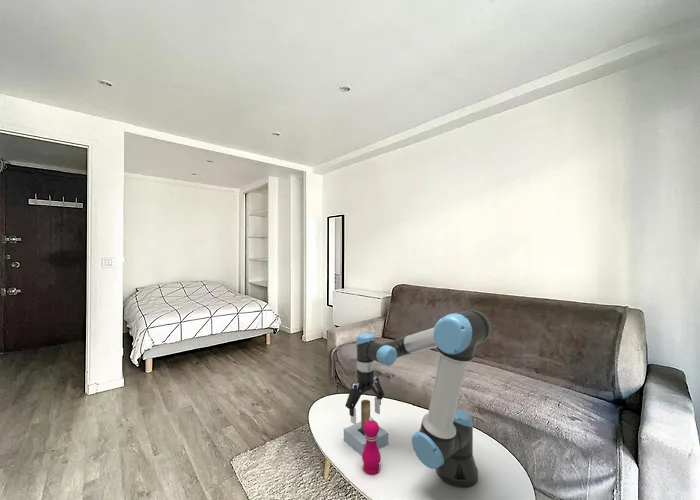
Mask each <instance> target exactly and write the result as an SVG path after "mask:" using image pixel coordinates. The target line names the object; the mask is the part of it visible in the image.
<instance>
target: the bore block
mask: <svg viewBox="0 0 700 500" xmlns="http://www.w3.org/2000/svg"><path fill="white" fill-rule="evenodd" d="M377 434H378V439H377V448H378V450H379V449H382V448H384V447H386V446H389V432H388V431H386V430H385V429H384V428H383V427H381V426H379V431H378V433H377ZM343 441H344V442H345V443H346V444H348V445H349V446H350V447H351V448H352V449H354V450H355V452H356V453H358V454H359V455H360V456H362V454H363V451H364V448H365V446H366V439H365V436H364V435H363V434H361V421H359V422H356V424H352V425H349V426H348V427H344V428H343Z"/></svg>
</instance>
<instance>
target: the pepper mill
mask: <svg viewBox="0 0 700 500" xmlns="http://www.w3.org/2000/svg"><path fill="white" fill-rule="evenodd" d="M379 427H380V426H379V424H378V422H377V421H376V420H374V417H372V416H370V418H369V420H368V421H366V422H365V424H364V432H365V439H366V446H365V448H364V451H363V454H362V455H361V459H362V462H363V468H362V469H363V471H364V473H366V474H367V475H371V476H372V475H373V476H374V475H377V474H378V473H379V472H380V467H381V465H380V463H381V460H382V457H381V452H380V450H379V449H378V448H377V439H378V434H377V433H378V431H379Z"/></svg>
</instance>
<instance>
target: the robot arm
mask: <svg viewBox="0 0 700 500" xmlns="http://www.w3.org/2000/svg"><path fill="white" fill-rule="evenodd" d="M491 327H492V326H491V322H490V320H489V319H488V316H486V315H485V314H484V313H482V312H481V311H479V310H474V309H468V310H464V311H460V312H455V313H450V314H447V315H445V316H443V317H441V318H440V319H439V320H438V321H437V322H436V323H435V325H434V327H432V328H429V329H425V330H422V331H418V332H415V333H413V334H409V335H406V336H403V337H400V338H397V339H393V340H390V341H385V342H377V341H375V338H374V335H373V334H371V333H369V332H368V333H359V334H358V335H357V338H356V379H357V382H356V383H354V382H352V383H351V387H350V391H349V394H348V396H347V399H346V403H345V408H347V410H348V409H349V412H348V413H349V416H350V422H351V423H352V425H354V424H356V423H357V408H356V406H357V404H358V402H359V400H360V398H361V396H362V395H363V394H364V393H366V392H369V391H371V392H372V393H373V395H374V396H375V397H374V413H376V414H377V415H380V414H381V404H382V402H381V401H382V400H383V397H384V396H385V393H384V391H383V388H382V385H381V383H380V378H379V377H378V376H375V371H374V369H375V362H376V363H380V364H381V365H386V366H392V365H393V364H395V362H396V361H397V359H398V358H402V357H404V356H408V355H411V354H412V355H413V354H416V353H420V352H423V351H427V350H432V349H436V350H437V352H438V354H439V360H438V364H437V369H436V373H435V377H434V378H435V379H434V383H433V388H432V393H431V397H430V403H429V408H428V412H427V413H425V415H423V417H422V419H421V424H420V428H419V431H415V433H414V434H413V435H412V437H411V438H412V439H411V445H412V449H413V451H414V452H415V453H414V454H415V456H416V457H417V458H418V460H419V461H420V462H421V464H422V465H424V466H426V468H429V469H435V472H436V474H437V476H438V477H439V478H440V479H441V480H442V481H443V482H445V483H446V484H448V485H450V486H452V487H457V488H469V487H473V486H475V484H477V482H478V480H479V471H478V467H477V464H476V461H475V458H474V452H473V451H474V450H473V449H474V448H473V445H474V443H473V440H474V439H473V437H474V436H473V435H474V433H473V431H474V425H473V418H472V416H471V415H470V414H469V412H467V411H465V410H464V409H461V408H458V404H459V399H460V396H461V395H460V394H461V390H462V386H463V382H464V376H465V372H466V369H467V364H468V363H470V362H472V361H474V355H475V351H476V348H477V346H478V345H480V344H483V343H484V342H486V341H487V340H488V338H489V337H490V335H491V331H492V328H491ZM374 385H375V387H374Z"/></svg>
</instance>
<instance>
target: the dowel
mask: <svg viewBox="0 0 700 500" xmlns="http://www.w3.org/2000/svg"><path fill="white" fill-rule="evenodd" d="M360 402H361V405H360V410H361V411H360V412H361V413H360V417H361V419H360V422H361V434H363V435H364V436H365V432H364V424H365V422H366V421H368V420H369V418H370V417H371V401H370V400H369V399H362V400H361V401H360Z"/></svg>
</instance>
